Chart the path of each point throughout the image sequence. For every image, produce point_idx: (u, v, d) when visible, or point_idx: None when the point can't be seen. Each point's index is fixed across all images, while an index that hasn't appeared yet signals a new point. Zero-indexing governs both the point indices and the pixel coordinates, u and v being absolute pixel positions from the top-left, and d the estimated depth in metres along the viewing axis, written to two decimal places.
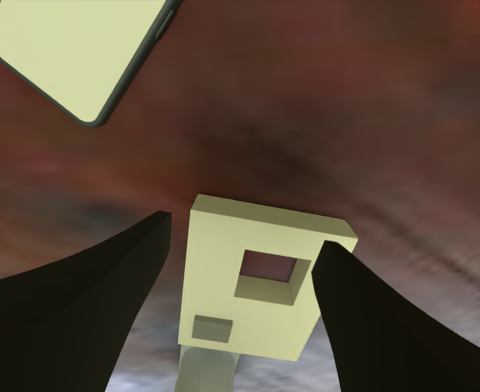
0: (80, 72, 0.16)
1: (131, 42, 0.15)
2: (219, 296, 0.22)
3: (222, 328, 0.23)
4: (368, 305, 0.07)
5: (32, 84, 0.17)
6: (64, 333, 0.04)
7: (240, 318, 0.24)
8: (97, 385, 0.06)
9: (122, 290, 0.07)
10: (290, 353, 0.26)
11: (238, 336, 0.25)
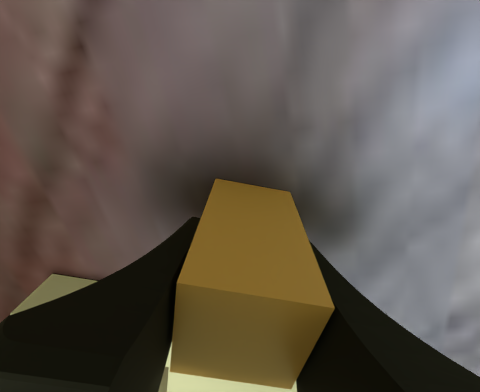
0: None
1: None
2: None
3: None
4: None
5: None
6: (145, 345, 0.04)
7: None
8: None
9: (174, 299, 0.07)
10: None
11: None
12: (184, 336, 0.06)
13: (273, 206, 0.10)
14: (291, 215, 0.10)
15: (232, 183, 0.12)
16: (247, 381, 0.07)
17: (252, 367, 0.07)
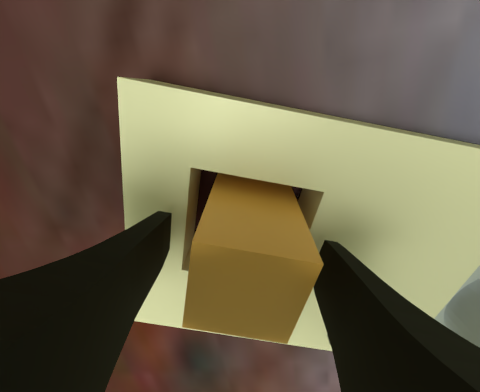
0: None
1: None
2: None
3: None
4: (368, 305, 0.07)
5: None
6: (64, 333, 0.04)
7: None
8: (97, 385, 0.06)
9: (123, 290, 0.07)
10: None
11: (402, 284, 0.12)
12: (196, 291, 0.07)
13: (272, 190, 0.11)
14: (289, 197, 0.11)
15: None
16: (249, 336, 0.08)
17: (253, 323, 0.08)
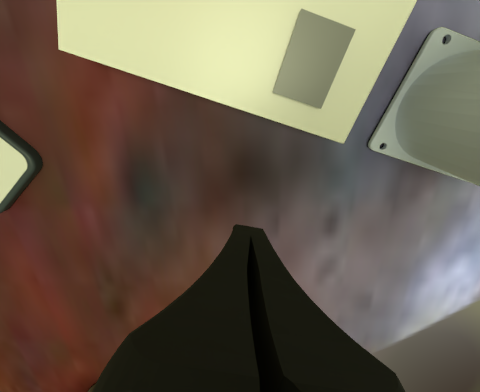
0: None
1: None
2: (229, 32, 0.12)
3: (307, 35, 0.12)
4: (257, 287, 0.07)
5: (9, 195, 0.20)
6: None
7: None
8: None
9: None
10: None
11: (351, 4, 0.12)
12: None
13: None
14: None
15: None
16: None
17: None
